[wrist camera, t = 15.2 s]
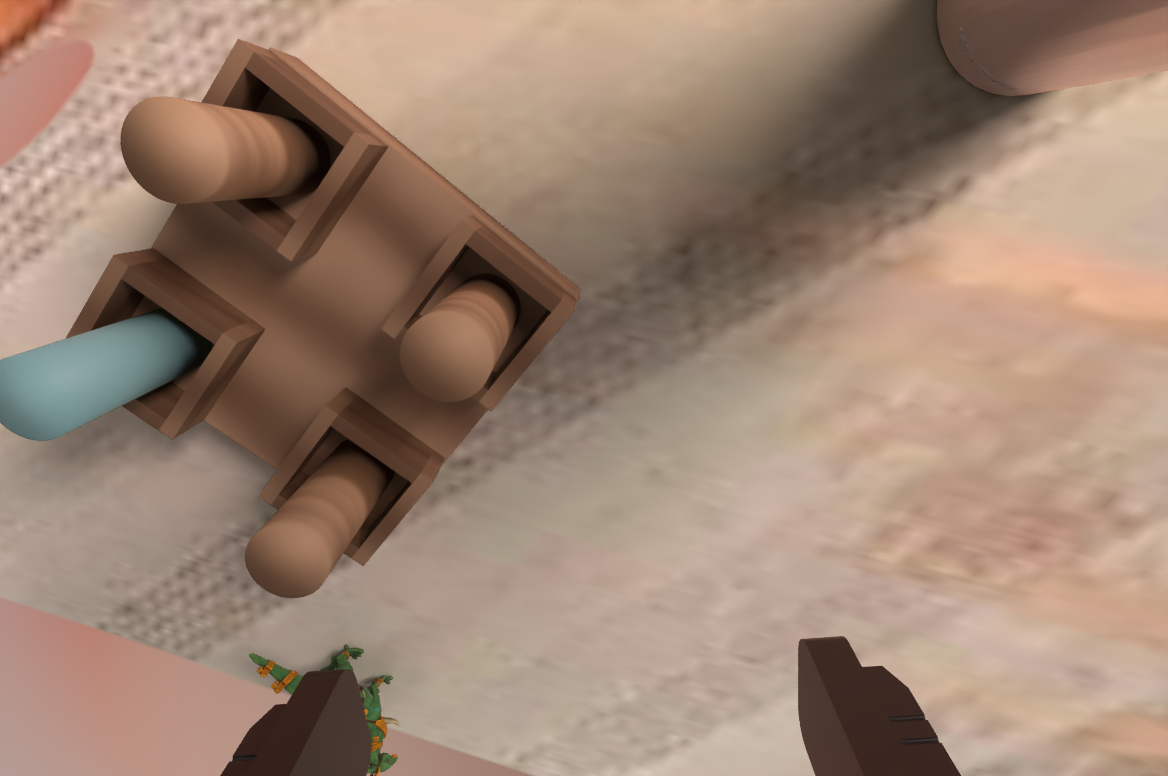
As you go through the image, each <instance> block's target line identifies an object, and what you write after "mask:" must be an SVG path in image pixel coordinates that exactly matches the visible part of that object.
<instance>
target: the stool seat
mask: <svg viewBox="0 0 1168 776" xmlns="http://www.w3.org/2000/svg"><path fill="white" fill-rule="evenodd" d="M121 150H122V154H123V158H124V160H125V163H126V165H127V167H128V169H129V171H130V173H131V174H132V176H133V177H134V179H135V180H136V181H137V182H138V183H139V184H140V186H141V187H142V188H144V189H145V190H146V191H147V192H149V193H150V194H152V195H153V196H155V197H157V198H159V199H161V200H163V201H166V202H170V203H175V204H177V205H176V207H175V209H174V210H173V212H172V214H171V216H170V217H169V219H168V221H167V222H166V224H165V226H164V227H163V229H162V231H161V232H160V234H159V236H158V238H157V239H156V241H155V243H154V244H153V246H152V248H151V249H146V250H141V251H135V252H129V253H123V254H118V255H113V257H112V259H111V261H110V262H109V264H108V266H107V268H106V269H105V271H104V273H103V275H102V276H101V278H100V280H99V282H98V283H97V285H96V287H95V289H94V290H93V292H92V294H91V295H90V297H89V299H88V301H87V302H86V304H85V306H84V308H83V309H82V311H81V313H80V315H79V316H78V318H77V320H76V322H75V323H74V325H73V327H72V328H71V330H70V332H69V334H68V335H67V337H66V339H67V338H70V337H73V336H76V335H79V334H82V333H85V332H89V331H92V330H95V329H98V328H101V327H104V326H107V325H110V324H114V323H117V322H120V321H123V320H126V319H129V318H132V317H135V316H139V315H142V314H145V313H148V312H151V311H154V310H157V309H160V308H164V309H165V310H166V311H168V312H169V313H171V314H172V315H173V316H175V317H176V318H178V319H179V320H181V321H182V322H183V323H185V324H186V325H188V326H189V327H191V328H192V329H193V330H195V331H196V332H198V333H199V334H200V335H202V336H203V337H205V338H206V339H208V340H209V341H210V342H212V350H211V352H210V353H209V355H208V356H207V358H206V359H205V361H204V362H203V364H202V365H201V366H200V367H198V368H196V369H194V370H192V371H190V372H188V373H186V374H184V375H182V376H180V377H178V378H176V379H174V380H172V381H170V382H168V383H166V384H164V385H162V386H160V387H158V388H156V389H154V390H152V391H150V392H148V393H146V394H144V395H142V396H140V397H138V398H136V399H134V400H132V401H130V402H128V403H126V404H124V405H122V406H123V407H124V408H126V409H127V410H129V411H130V412H132V413H133V414H135V415H136V416H138V417H139V418H141V419H142V420H144V421H145V422H147V423H148V424H150V425H151V426H153V427H155V428H156V429H158V430H159V431H161V432H162V433H164V434H165V435H167V436H168V437H170V438H171V439H174V438H176V437H177V436H179V435H180V434H182V433H184V432H185V431H187V430H188V429H190V428H191V427H193V426H195V425H196V424H198V423H199V422H201V421H203V420H204V421H206V422H207V423H209V424H210V425H212V426H213V427H215V428H216V429H218V430H219V431H221V432H222V433H223V434H225V435H226V436H228V437H229V438H231V439H232V440H234V441H235V442H237V443H238V444H240V445H241V446H243V447H244V448H246V449H247V450H249V451H250V452H252V453H253V454H254V455H256V456H257V457H259V458H260V459H262V460H263V461H265V462H266V463H268V464H269V465H271V466H272V467H274V468H275V469H277V471H276V473H275V474H274V475H273V477H272V478H271V479H270V481H269V482H268V484H267V485H266V486H265V488H264V489H263V490H262V492H261V493H260V494H259V496H258V497H260V498H261V499H263V500H264V501H266V502H267V503H269V504H270V505H272V506H273V507H275V508H276V509H278V511H277V512H276V513H275V514H274V515H273V516H272V517H271V518H270V519H269V520H268V522H267V523H266V524H265V525H264V526H263V527H262V528H261V529H260V530H259V531H258V532H257V533H256V534H255V535H254V536H253V538H252V539H251V540H250V541H249V543H248V545H247V548H246V552H245V562H246V566H247V569H248V571H249V573H250V575H251V576H252V578H253V579H254V580H255V581H256V583H257V584H258V585H260V586H261V587H262V588H263V589H265V590H266V591H268V592H270V593H272V594H275V595H278V596H281V597H286V598H299V597H304V596H307V595H310V594H312V593H313V592H315V591H316V590H318V589H319V588H320V587H321V586H322V584H323V583H324V581H325V580H326V578H327V577H328V575H329V574H330V572H331V571H332V569H333V568H334V566H335V565H336V563H337V562H338V560H339V559H340V557H341V556H342V554H343V553H344V554H346V555H347V556H349V557H350V558H352V559H353V560H355V561H356V562H358V563H359V564H361V565H362V566H364V565H365V564H366V562H367V561H368V560H369V559H370V557H371V556H372V555H373V554H374V553H375V551H376V550H377V549H378V548H379V547H380V545H381V544H382V543H383V542H384V541H385V539H386V538H387V537H388V536H389V534H390V533H391V532H392V531H393V530H394V528H395V527H396V526H397V525H398V524H399V522H400V521H401V520H402V519H403V518H404V516H405V515H406V514H407V513H408V511H409V510H410V509H411V508H412V507H413V505H414V504H415V503H416V502H417V501H418V499H419V498H420V497H421V496H422V495H423V493H424V492H425V491H426V490H427V488H428V487H429V486H430V485H431V484H432V482H433V481H434V479H435V477H436V475H437V473H438V471H439V470H440V468H441V466H442V465H443V463H444V462H445V461H446V460H447V459H448V457H449V456H450V455H451V454H452V452H453V451H454V450H455V449H456V448H457V446H458V445H459V444H460V443H461V442H462V440H463V439H464V438H465V437H466V435H467V434H468V433H469V432H470V431H471V429H472V428H473V427H474V426H475V425H476V423H477V422H478V421H479V420H480V418H481V417H482V416H483V415H484V414H485V412H486V411H487V410H488V409H489V410H490V411H492V410H493V409H494V407H495V406H496V405H497V404H498V403H499V401H500V400H501V399H502V398H503V396H504V395H505V394H506V393H507V392H508V390H509V389H510V388H511V387H512V386H513V384H514V383H515V382H516V381H517V380H518V378H519V377H520V376H521V375H522V373H523V372H524V371H525V370H526V369H527V367H528V366H529V365H530V364H531V363H532V361H533V360H534V359H535V358H536V357H537V355H538V354H539V353H540V352H541V350H542V349H543V348H544V347H545V346H546V344H547V343H548V342H549V341H550V340H551V338H552V337H553V336H554V335H555V334H556V332H557V331H558V330H559V329H560V327H561V326H562V325H563V324H564V323H565V321H566V320H567V319H568V318H569V317H570V315H571V314H572V313H573V312H574V311H575V305H576V302H577V301H578V299H579V296H580V288H579V287H577V286H576V285H575V284H574V283H572V282H571V281H570V280H569V279H568V278H566V277H565V276H564V275H563V274H561V273H560V272H559V271H558V270H557V269H555V268H554V267H553V266H552V265H550V264H549V263H548V262H547V261H546V260H544V259H543V258H542V257H541V256H539V255H538V254H537V253H536V252H535V251H533V250H532V249H531V248H530V247H528V246H527V245H526V244H525V243H523V242H522V241H521V240H520V239H519V238H517V237H516V236H515V235H514V234H512V233H511V232H510V231H509V230H508V229H506V228H505V227H504V226H503V225H501V224H500V223H499V222H498V221H497V220H495V219H494V218H493V217H492V216H490V215H489V214H488V213H487V212H486V211H484V210H483V209H482V208H481V207H479V206H478V205H477V204H476V203H475V202H473V201H472V200H471V199H470V198H468V197H467V196H466V195H465V194H464V193H462V192H461V191H460V190H459V189H457V188H456V187H455V186H454V185H452V184H451V183H450V182H449V181H448V180H446V179H445V178H444V177H443V176H441V175H440V174H439V173H438V172H437V171H435V170H434V169H433V168H432V167H430V166H429V165H428V164H427V163H426V162H424V161H423V160H422V159H421V158H419V157H418V156H417V155H416V154H415V153H413V152H412V151H411V150H410V149H408V148H407V147H406V146H405V145H404V144H402V143H401V142H400V141H399V140H397V139H396V138H395V137H394V136H392V135H391V134H390V133H389V132H388V131H386V130H385V129H384V128H383V127H381V126H380V125H379V124H378V123H377V122H375V121H374V120H373V119H372V118H370V117H369V116H368V115H367V114H366V113H364V112H363V111H362V110H361V109H359V108H358V107H357V106H356V105H355V104H353V103H352V102H351V101H350V100H348V99H347V98H346V97H345V96H344V95H342V94H341V93H340V92H339V91H337V90H336V89H335V88H334V87H332V86H331V85H330V84H329V83H328V82H326V81H325V80H324V79H323V78H321V77H320V76H319V75H318V74H317V73H315V72H314V71H313V70H312V69H310V68H309V67H308V66H307V65H306V64H304V63H303V62H302V61H301V60H299V59H298V58H297V57H294V56H291V55H289V54H286V53H283V52H281V51H278V50H275V49H273V48H269V50H267V49H265V48H262V47H259V46H256V45H254V44H251V43H248V42H245V41H243V40H240V39H238V40H237V42H236V43H235V45H234V47H233V49H232V50H231V52H230V54H229V56H228V57H227V59H226V61H225V63H224V64H223V66H222V68H221V70H220V71H219V73H218V75H217V76H216V78H215V80H214V82H213V83H212V85H211V87H210V89H209V90H208V92H207V94H206V96H205V97H204V99H203V101H202V103H201V102H195V101H189V100H183V99H178V98H172V97H153V98H149V99H146V100H144V101H142V102H140V103H138V104H137V105H136V106H135V107H133V109H132V110H131V111H130V112H129V113H128V115H127V116H126V118H125V121H124V123H123V126H122V130H121Z"/></svg>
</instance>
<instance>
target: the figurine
mask: <svg viewBox="0 0 1168 776" xmlns="http://www.w3.org/2000/svg"><path fill="white" fill-rule="evenodd" d="M362 653H364V652H363V650H362V649H358V648H353V649H349V646H348V645H345V652H342V653H341V654H340V655H338V656H337V657H336V660H337V661H336V660H335V657H334V656H332V658H331V660H332V662H331V664H330V665H329V666H328V667H326V668H324V669H321V670H320V671H326V670H334V669H335V668H337V670H341V669H350V670H352V671H353V669H352V667H351V665H350V664H349V662H348V661H347V660H348V658H349V656H352V657H353V658H354V659H357V656H358V657H361V654H362ZM356 655H357V656H356ZM249 656H250V658H251V659H252V660H253V662H255V663H256V664H258V665H259V666H261V667H259V668H258V670H257V672H258V673H260V675H261V676H262V677H265V676H266V675H267V674H268V673H270V674H271V675H272V676H273V677H274V678H275V679H276V680H277V681H276V682H275V683H273V684H272V685H271V687H272V688H273V689H274V691H275V693H276V694H278V693H279V692H280V691H281V690H282V689H283V688H285V689H286V690H287V691H288V692H289V693H290V694H293V692H294V691H295V689H296V687H297V686H298V684H299V682H300V680H301V679H302V676H300V675H298V672H295V671H292V670H290V671H289V670H287V669H285V668H282V667H281V666H279V665H277V664H275V662H273V661H270V660H266V659H264V658H262V657H260V656H258V655H255V654H249ZM388 679H390V680H391V679H393V677H391V676H382V677H381V678H377V679H376V680H375V681H373V683H372V685H370V687H369V688H368V689H367V688H366V687H363V686H360V685H358V688H359V692H360V696H361V700H362V704H363V708H364V711H365V715H366V719H367V723H368V727H369V731H370V736H371V757H370V763H369V765H370V767H369V768H368V771H367V773H371V775H370V776H373V774H374V773H376V774H375V775H374V776H378V775H379V773H380V772H384V771H385V770H387V769H388V768H390V767H391V766H392V765H393V764H394V763H395V762H396V761H397V755H396V754H393V755H392V756H390V755H389V754H388V753H382V754H380V749H381V747H382V745H383V739H384V738H385V737H386V734H387V725H386V724H391V723H394V724H397V725H398V726H399V727H400V725H399V723H398V721H397V720H396V719H392V718H385V717H382V716H381V705H380V699H379V695H378V693H379V692H380V691H379V689H377V687H379V686H380V685H381V683H382V682H383V681H384V682H385V683H387V684H390V681H389V680H388ZM278 683H279V684H278ZM277 684H278V685H277Z"/></svg>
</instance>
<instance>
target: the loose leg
mask: <svg viewBox="0 0 1168 776" xmlns="http://www.w3.org/2000/svg"><path fill="white" fill-rule="evenodd" d="M211 350H212V342H210V341H209V340H208V339H206V338H205V337H203V336H202V335H200V334H199V333H198V332H196V331H195V330H193V329H192V328H191V327H189V326H188V325H186V324H185V323H183V322H182V321H181V320H179V319H178V318H176V317H175V316H173V315H172V314H171V313H169V312H168V311H166V310H165V309H164V308H160V309H157V310H154V311H151V312H148V313H145V314H142V315H139V316H135V317H132V318H129V319H126V320H123V321H120V322H117V323H114V324H110V325H107V326H104V327H101V328H98V329H95V330H92V331H89V332H85V333H82V334H79V335H76V336H73V337H70V338H67V339H64V340H61V341H57V342H54V343H51V344H48V345H45V346H42V347H39V348H36V349H32V350H29V351H26V352H23V353H20V354H17V355H14V356H11V357H7V358H4V359H2V360H0V423H1V424H2V425H4V426H5V427H6V428H7V429H9V430H10V431H12V432H13V433H15V434H17V435H19V436H21V437H24V438H27V439H31V440H38V441H46V440H51V439H55V438H57V437H59V436H61V435H63V434H65V433H67V432H69V431H71V430H73V429H76V428H78V427H80V426H82V425H84V424H86V423H88V422H90V421H92V420H94V419H96V418H98V417H100V416H102V415H104V414H106V413H108V412H110V411H112V410H114V409H116V408H118V407H120V406H122V405H124V404H126V403H128V402H130V401H132V400H134V399H136V398H138V397H140V396H142V395H144V394H146V393H148V392H150V391H152V390H154V389H156V388H158V387H160V386H162V385H164V384H166V383H168V382H170V381H172V380H174V379H176V378H178V377H180V376H182V375H184V374H186V373H188V372H190V371H192V370H194V369H196V368H198V367H200V366H201V365H202V364H203V362H204V361H205V359H206V358H207V356H208V355H209V353H210V352H211Z"/></svg>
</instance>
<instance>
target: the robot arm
mask: <svg viewBox="0 0 1168 776" xmlns="http://www.w3.org/2000/svg"><path fill="white" fill-rule="evenodd" d="M937 25H938V30H939V36H940V41H941V44H942V46H943V48H944V51H945V53H946V55H947V58H948V60H949V61H950V62H951V64H952V65H953V66H954V68H955V69H956V70H957V72H958V73H959V74H960V75H961V76H962V77H963V78H965V79H966V80H967V81H968V82H970V83H971V84H972V85H973V86H975V87H978V88H980V89H982V90H984V91H987V92H989V93H993V94H998V95H1004V96H1020V95H1031V94H1036V93H1042V92H1048V91H1053V90H1059V89H1065V88H1071V87H1078V86H1084V85H1090V84H1095V83H1101V82H1107V81H1112V80H1118V79H1123V78H1129V77H1135V76H1140V75H1146V74H1152V73H1157V72H1163V71H1168V0H937ZM798 711H799V721H800V727H801V732H802V737H803V741H804V744H805V747H806V750H807V753H808V756H809V759H810V761H811V764H812V767H813V770H814V773H815V775H816V776H961V775H960V773H959V772H958V770H957V768H956V767H955V765H954V763H953V762H952V760H951V758H950V757H949V755H948V753H947V752H946V750H945V748H944V747H943V745H942V743H939V741H938V737H937V735H936V733H935V732H934V730H933V728H932V727H931V725H930V723H929V722H928V720H925V716H924V713H923V712H922V710H921V708H920V707H919V705H918V703H917V702H916V700H915V698H914V697H913V695H912V693H911V692H910V690H909V688H908V687H907V686H905V685H904V684H903V683H902V682H901V681H900V680H898V679H897V678H896V677H895V676H894V675H892V674H891V673H890V672H889V671H888V670H886V669H885V668H884V667H883V666H872V667H862V666H861V664H860V663H859V661H858V659H857V657H856V655H855V653H854V651H853V649H852V648H851V646H850V644H849V642H848V640H847V639H846V638H845V637H843V636H839V637H824V638H810V639H801V640H800V641H799V646H798ZM370 757H371V736H370V731H369V727H368V723H367V719H366V715H365V711H364V708H363V704H362V700H361V696H360V692H359V688H358V684H357V680H356V677H355V674H354V672H353V671H352V670H350V669H341V670H326V671H312V672H308V673H306V674H305V675H304V676H303V677H302V679H301V680H300V682H299V684H298V686H297V687H296V689H295V691H294V692H293V694H292V696H291V698H290V700H289V701H288V703H287V704H280V705H275V706H274V707H273V708H272V709H271V710H269V711H268V712H267V713H266V714H265V715H264V716H263V717H262V718H261V719H260V720H259V721H258V722H257V723H256V724H254V725H253V726H252V727H251V728H250V729H249V731H248V732H247V734H246V736H245V737H244V739H243V740H242V742H241V744H240V745H239V747H238V748H237V750H236V752H235V753H234V755H233V760H232V762H229V763H228V764H227V766H226V768H225V769H224V771H223V772H222V774H221V776H366V774H367V771H368V768H369V763H370Z"/></svg>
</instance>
